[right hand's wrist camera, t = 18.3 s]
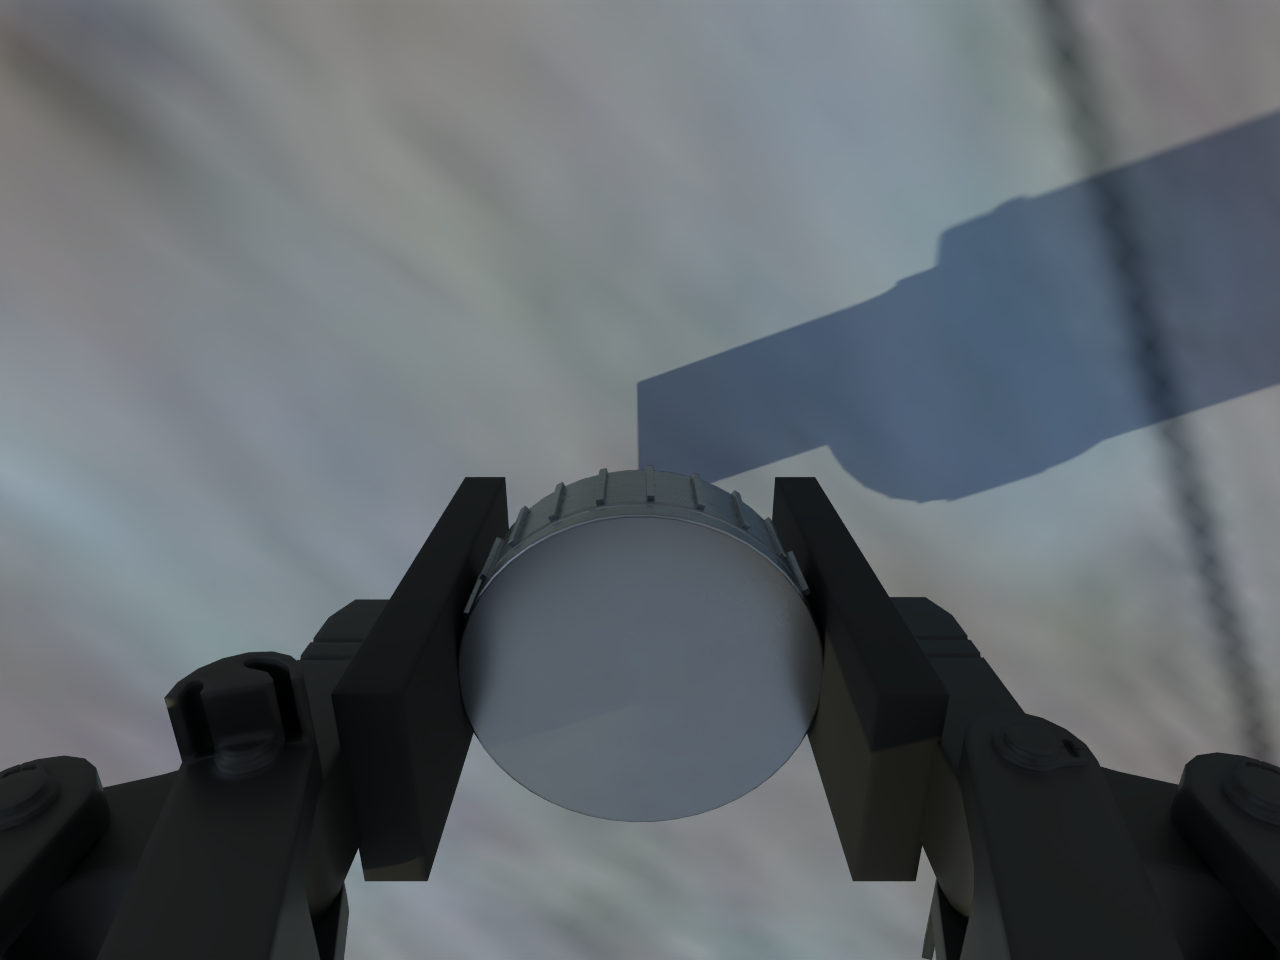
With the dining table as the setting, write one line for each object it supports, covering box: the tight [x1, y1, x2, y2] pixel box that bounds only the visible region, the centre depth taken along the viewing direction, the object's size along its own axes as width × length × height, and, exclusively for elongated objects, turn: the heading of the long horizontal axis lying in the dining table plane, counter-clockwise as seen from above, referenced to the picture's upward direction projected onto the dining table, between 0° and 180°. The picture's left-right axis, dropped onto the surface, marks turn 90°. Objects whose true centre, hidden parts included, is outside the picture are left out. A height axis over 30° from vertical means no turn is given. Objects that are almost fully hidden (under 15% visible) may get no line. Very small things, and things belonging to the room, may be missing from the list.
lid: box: [457, 465, 824, 822], centre depth 11 cm, size 5×5×2 cm
